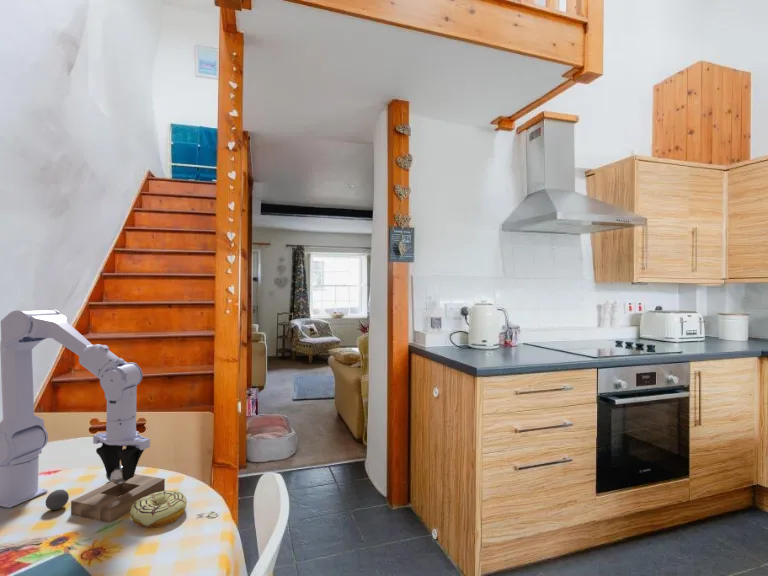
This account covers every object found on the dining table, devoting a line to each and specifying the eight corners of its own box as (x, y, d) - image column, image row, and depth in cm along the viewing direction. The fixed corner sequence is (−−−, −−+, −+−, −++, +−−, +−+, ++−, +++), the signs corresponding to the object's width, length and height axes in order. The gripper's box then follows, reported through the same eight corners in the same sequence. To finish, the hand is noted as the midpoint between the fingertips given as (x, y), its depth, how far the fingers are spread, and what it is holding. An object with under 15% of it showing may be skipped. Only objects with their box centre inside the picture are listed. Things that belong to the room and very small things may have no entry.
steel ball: (105, 486, 90) (106, 468, 90) (122, 478, 94) (122, 461, 94) (119, 488, 89) (120, 470, 89) (135, 480, 93) (135, 463, 93)
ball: (40, 512, 87) (40, 493, 87) (60, 503, 91) (60, 485, 91) (54, 514, 86) (54, 496, 86) (73, 505, 90) (73, 487, 90)
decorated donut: (145, 538, 78) (145, 518, 78) (120, 520, 84) (120, 502, 84) (196, 513, 87) (196, 496, 87) (170, 499, 93) (170, 483, 93)
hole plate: (70, 515, 86) (71, 500, 86) (128, 485, 99) (129, 473, 99) (110, 523, 83) (110, 508, 83) (164, 491, 96) (164, 478, 96)
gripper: (161, 415, 93) (160, 473, 93) (113, 410, 97) (112, 466, 97) (134, 424, 87) (134, 487, 86) (84, 418, 91) (83, 479, 90)
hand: (120, 477), depth 91 cm, fingers closed on steel ball, 4 cm apart
